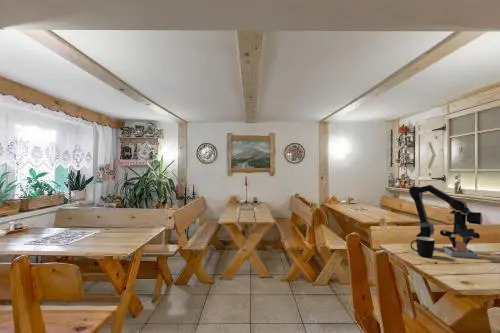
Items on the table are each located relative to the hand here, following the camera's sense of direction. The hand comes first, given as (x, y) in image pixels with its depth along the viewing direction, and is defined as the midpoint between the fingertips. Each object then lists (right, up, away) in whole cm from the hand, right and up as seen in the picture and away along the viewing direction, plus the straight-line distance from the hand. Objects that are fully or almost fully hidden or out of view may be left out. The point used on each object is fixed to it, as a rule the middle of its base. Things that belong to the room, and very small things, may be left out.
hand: (459, 248), depth 175 cm
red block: (0, -1, 0) cm, 1 cm away
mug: (-24, -3, -3) cm, 24 cm away
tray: (0, -4, 0) cm, 4 cm away
